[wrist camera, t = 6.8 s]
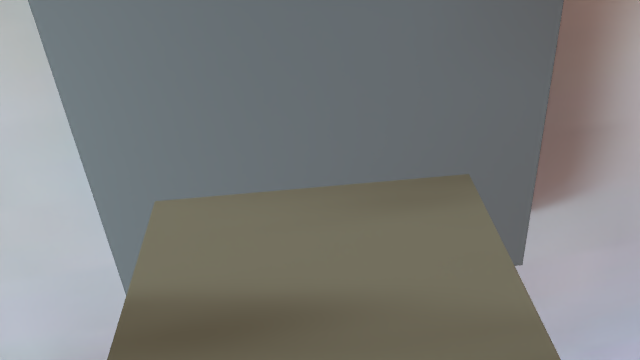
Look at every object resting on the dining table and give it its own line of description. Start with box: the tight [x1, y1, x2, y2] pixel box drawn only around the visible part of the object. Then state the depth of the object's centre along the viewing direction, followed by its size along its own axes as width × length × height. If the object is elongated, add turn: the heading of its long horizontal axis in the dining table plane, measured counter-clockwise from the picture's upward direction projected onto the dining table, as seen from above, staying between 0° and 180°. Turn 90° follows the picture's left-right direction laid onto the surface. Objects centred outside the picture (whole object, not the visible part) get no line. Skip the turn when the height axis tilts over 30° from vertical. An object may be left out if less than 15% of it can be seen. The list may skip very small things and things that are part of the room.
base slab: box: [28, 0, 564, 296], centre depth 18 cm, size 14×14×2 cm
